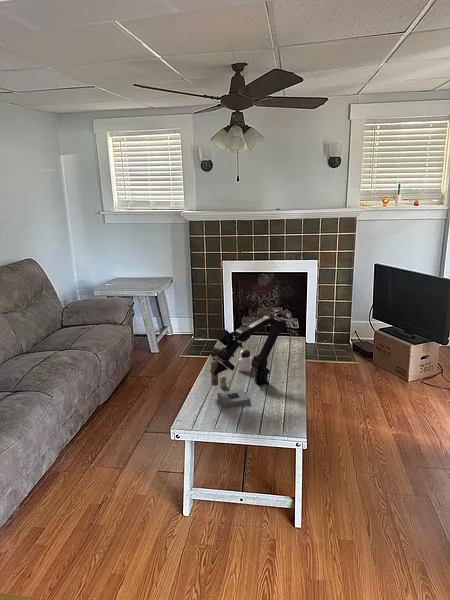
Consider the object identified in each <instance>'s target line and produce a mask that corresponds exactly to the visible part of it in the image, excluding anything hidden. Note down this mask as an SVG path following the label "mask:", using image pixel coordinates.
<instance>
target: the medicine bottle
mask: <svg viewBox="0 0 450 600" xmlns="http://www.w3.org/2000/svg"><path fill="white" fill-rule="evenodd" d="M238 358H239V359H238V360H237V363H238V364H237V366H238V368H237V369H238V370H237V371H238V372H247V373H250V372H251V370H252V369H253V368H252V365H251V363H252V362H251V361H252V360H253V356H251V351H250V350H249V349H242V350H240V352H239V357H238Z"/></svg>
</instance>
